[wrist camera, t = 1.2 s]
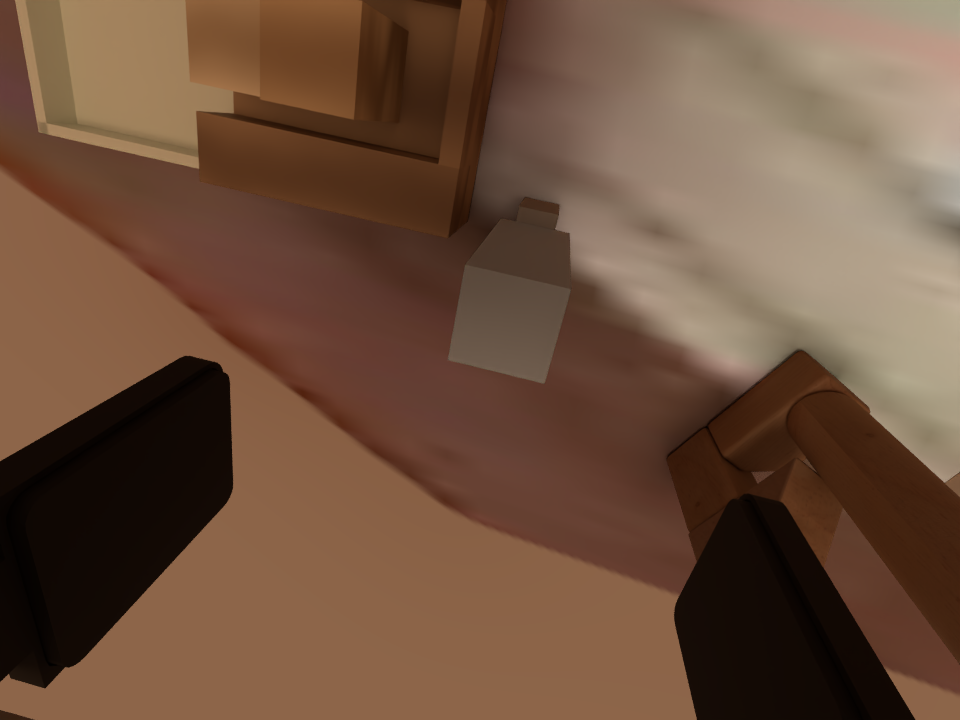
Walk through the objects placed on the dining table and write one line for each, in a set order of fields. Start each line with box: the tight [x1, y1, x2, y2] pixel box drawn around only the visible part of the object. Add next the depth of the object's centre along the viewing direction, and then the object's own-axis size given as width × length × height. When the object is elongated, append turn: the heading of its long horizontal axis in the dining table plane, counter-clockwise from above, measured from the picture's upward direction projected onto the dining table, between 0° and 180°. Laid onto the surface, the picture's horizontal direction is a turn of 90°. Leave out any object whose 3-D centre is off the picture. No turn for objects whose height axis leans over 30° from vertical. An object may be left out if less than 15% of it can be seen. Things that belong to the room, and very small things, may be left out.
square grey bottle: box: [448, 197, 571, 384], centre depth 23 cm, size 5×4×14 cm
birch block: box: [185, 0, 260, 97], centre depth 23 cm, size 4×4×4 cm
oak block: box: [260, 0, 409, 123], centre depth 22 cm, size 4×4×6 cm
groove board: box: [196, 0, 507, 238], centre depth 25 cm, size 13×13×6 cm
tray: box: [15, 0, 234, 169], centre depth 27 cm, size 13×12×2 cm
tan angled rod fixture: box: [667, 351, 960, 664], centre depth 24 cm, size 4×11×18 cm, turn 143°
